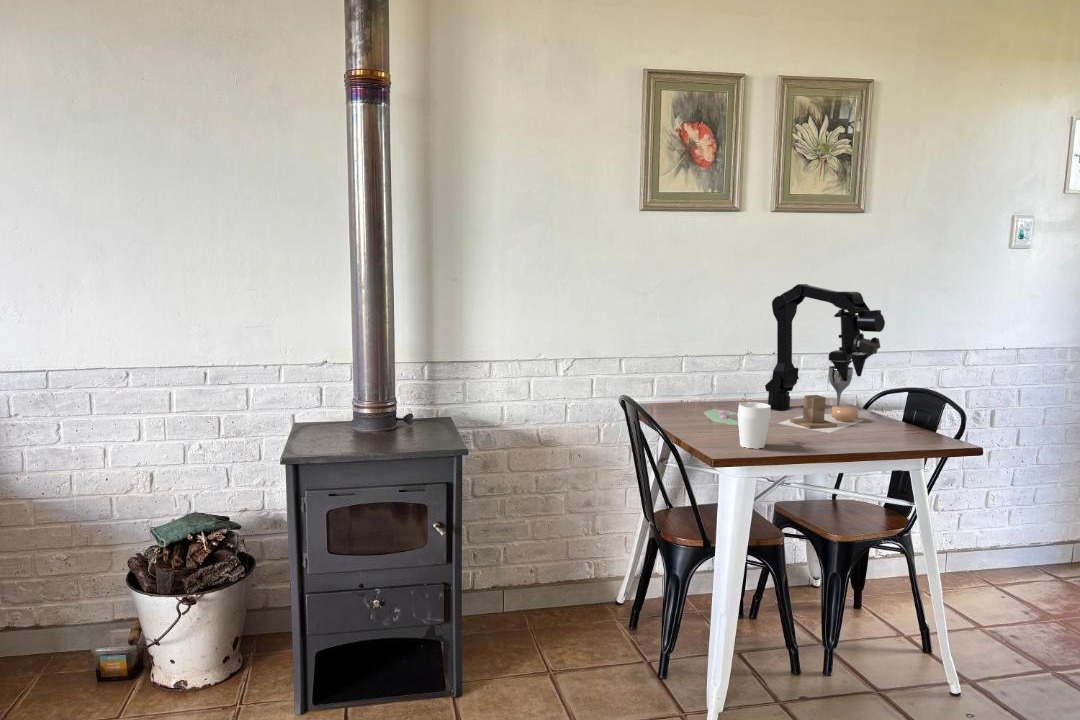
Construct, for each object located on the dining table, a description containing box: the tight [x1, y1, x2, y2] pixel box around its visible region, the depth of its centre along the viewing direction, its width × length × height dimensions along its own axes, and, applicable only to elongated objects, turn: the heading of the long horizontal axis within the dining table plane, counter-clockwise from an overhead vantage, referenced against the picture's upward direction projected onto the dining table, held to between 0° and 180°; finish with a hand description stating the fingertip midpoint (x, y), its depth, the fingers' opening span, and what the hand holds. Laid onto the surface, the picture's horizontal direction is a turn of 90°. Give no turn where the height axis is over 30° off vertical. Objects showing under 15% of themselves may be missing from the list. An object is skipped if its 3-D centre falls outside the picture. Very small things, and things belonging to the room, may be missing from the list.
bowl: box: [831, 405, 859, 422], centre depth 259 cm, size 8×8×4 cm
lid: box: [789, 394, 837, 430], centre depth 251 cm, size 10×10×9 cm
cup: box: [737, 401, 772, 450], centre depth 226 cm, size 9×9×12 cm
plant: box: [703, 393, 752, 426], centre depth 265 cm, size 25×21×9 cm
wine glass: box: [828, 365, 854, 406], centre depth 280 cm, size 8×8×15 cm
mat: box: [777, 413, 865, 434], centre depth 256 cm, size 17×26×1 cm, turn 136°
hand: (852, 378), depth 258 cm, fingers open, 9 cm apart
